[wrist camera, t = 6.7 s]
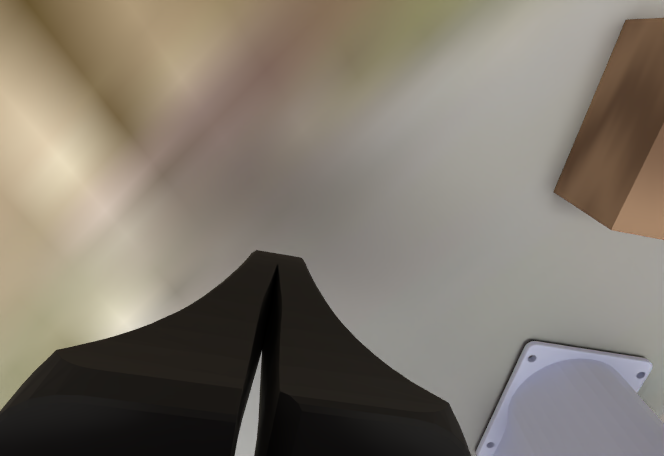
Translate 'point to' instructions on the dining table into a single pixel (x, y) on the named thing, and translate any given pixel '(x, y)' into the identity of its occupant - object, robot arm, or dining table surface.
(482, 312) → the dining table surface
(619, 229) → the walnut block
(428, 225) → the dining table surface
